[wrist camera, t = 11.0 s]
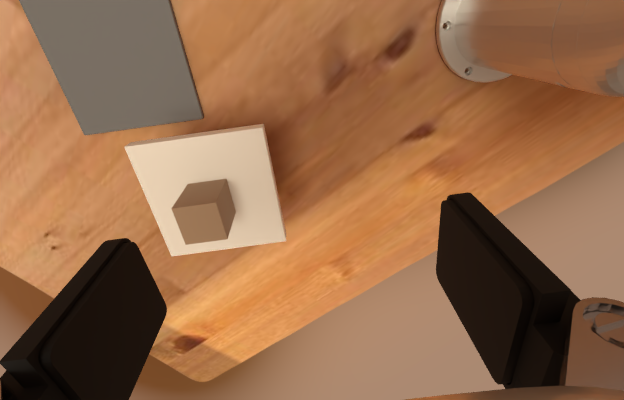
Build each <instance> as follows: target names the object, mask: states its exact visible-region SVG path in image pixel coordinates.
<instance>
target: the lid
mask: <svg viewBox="0 0 624 400" xmlns="http://www.w3.org/2000/svg"><path fill="white" fill-rule="evenodd" d="M125 150H126V152H127V154H128V157H129V159H130V161H131V163H132V166H133V168H134V170H135V173H136V175H137V177H138V180H139V182H140V184H141V187H142V189H143V191H144V194H145V196H146V198H147V200H148V203H149V205H150V207H151V210H152V212H153V214H154V217H155V219H156V221H157V224H158V226H159V228H160V231H161V233H162V235H163V237H164V240H165V242H166V244H167V247H168V249H169V251H170V254H171V256H178V255H186V254H193V253H201V252H208V251H216V250H223V249H231V248H238V247H246V246H253V245H261V244H268V243H276V242H283V241H286V230H285V225H284V221H283V216H282V211H281V206H280V201H279V196H278V191H277V186H276V181H275V176H274V172H273V167H272V162H271V157H270V152H269V147H268V142H267V137H266V132H265V127H264V124H258V125H250V126H243V127H236V128H229V129H222V130H215V131H208V132H201V133H194V134H187V135H180V136H172V137H165V138H158V139H151V140H144V141H137V142H130V143H129V144H128V145H126V146H125Z"/></svg>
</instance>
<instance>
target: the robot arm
mask: <svg viewBox="0 0 624 400" xmlns="http://www.w3.org/2000/svg"><path fill="white" fill-rule="evenodd" d="M444 23H445V24H446V26H445V28H444V29H443V24H444ZM436 39H437V45H438V49H439V53H440V55H441V57H442V59H443V61H444V63H445V64H446V65H447V66H448V67H449V69H450V70H451V71H453V72H454V73H455V74H457V75H458V76H460V77H462V78H465V79H467V80H470V81H474V82H484V83H487V82H494V81H498V80H501V79H504V78H507V77H509V76H511V75H517V76H521V77H525V78H529V79H533V80H537V81H542V82H546V83H550V84H554V85H558V86H563V87H567V88H571V89H576V90H580V91H584V92H589V93H593V94H597V95H604V96H611V97H624V0H442V2H441V4H440V8H439V12H438V16H437V23H436ZM466 68H467V71H466V72H465V69H466ZM436 274H437V278H438V280H439V282H440V284H441V286H442V288H443V290H444V291H445V293H446V295H447V297H448V299H449V300H450V302H451V304H452V306H453V307H454V309H455V311H456V313H457V315H458V317H459V318H460V320H461V322H462V324H463V325H464V327H465V329H466V331H467V333H468V334H469V336H470V338H471V340H472V342H473V343H474V345H475V347H476V349H477V351H478V352H479V354H480V356H481V358H482V360H483V361H484V363H485V365H486V367H487V368H488V370H489V372H490V374H491V376H492V378H493V379H494V380H495V382H496V383H497V384H503V385H504V387H505V389H502V390H492V391H481V392H471V393H460V394H450V395H441V396H432V397H423V398H414V399H406V400H624V303H623V302H620V301H617V300H612V299H607V298H593V297H592V298H587V299H583V300H580V299H579V298H578V297H577V296H576V295H574V293H573V292H572V291H571V290H570V289H569V288H568V287H567V286H566V285H565V284H564V283H563V282H562V281H561V280H560V279H559V278H558V277H557V276H556V275H555V274H554V273H553V272H552V271H551V270H550V269H549V268H548V267H547V266H545V264H543V263H542V262H541V261H540V260H539V259H538V258H537V257H536V256H535V255H534V254H533V253H532V252H531V251H530V250H529V249H528V248H527V247H526V246H525V245H524V244H523V243H522V242H521V241H520V240H519V239H517V237H515V236H514V234H512V233H511V232H510V231H509V230H508V229H507V228H506V227H505V226H504V225H503V224H502V223H501V222H500V221H499V220H498V219H497V218H496V217H495V216H494V215H493V214H492V213H491V212H490V211H489V210H488V209H487V208H486V207H485V206H484V205H483V204H482V203H480V202H479V201H478V200H477V199H476V198H475V197H474V196H473V195H472V194H471V193H461V194H454V195H449V196H448V198H447V200H445V201H442V204H441V214H440V227H439V239H438V252H437V264H436ZM166 312H167V308H166V304H165V301H164V299H163V297H162V295H161V293H160V291H159V289H158V287H157V285H156V283H155V281H154V279H153V277H152V275H151V273H150V271H149V269H148V267H147V265H146V262H145V260H144V258H143V256H142V254H141V252H140V250H139V248H138V246H137V245H136V243H134V242H131V241H130V240H129V239H127V238H123V239H115V240H108V241H105V242H104V243H103V244H102V245H101V246H100V247H99V248H98V249H97V250H96V252H95V253H94V254H93V255H92V256H91V257H90V258H89V260H88V261H87V262H86V263H85V264H84V265H83V267H82V268H81V269H80V270H79V271H78V272H77V273H76V275H75V276H74V277H73V278H72V279H71V280H70V281H69V283H68V284H67V285H66V286H65V287H64V288H63V289H62V291H61V292H60V293H59V294H58V295H57V296H56V297H55V299H54V300H53V301H52V302H51V303H50V304H49V306H48V307H47V308H46V309H45V310H44V311H43V312H42V314H41V315H40V316H39V317H38V318H37V319H36V320H35V322H34V323H33V324H32V325H31V326H30V327H29V329H28V330H27V331H26V332H25V333H24V334H23V335H22V336H21V338H20V339H19V340H18V341H17V342H16V343H15V344H14V346H13V347H12V348H11V349H10V350H9V351H8V352H7V354H6V355H5V356H4V357H3V358H2V359H1V361H0V364H1V365H2V366H3V367H4V368H5V369H6V370H7V371H6V372H5V373H4V374H3V376H2V377H1V378H0V400H129V397H130V396H131V393H132V391H133V389H134V386H135V384H136V382H137V380H138V377H139V375H140V373H141V371H142V368H143V366H144V364H145V362H146V359H147V357H148V355H149V353H150V350H151V348H152V346H153V344H154V341H155V339H156V337H157V334H158V332H159V330H160V328H161V325H162V323H163V321H164V319H165V316H166Z"/></svg>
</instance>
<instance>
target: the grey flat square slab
mask: <svg viewBox="0 0 624 400" xmlns="http://www.w3.org/2000/svg"><path fill="white" fill-rule="evenodd" d="M19 1H20V3H21V5H22V7H23V10H24V12H25V14H26V16H27V18H28V20H29V22H30V24H31V26H32V28H33V30H34V32H35V34H36V36H37V38H38V40H39V42H40V45H41V47H42V49H43V51H44V53H45V55H46V57H47V59H48V61H49V63H50V65H51V67H52V69H53V71H54V73H55V75H56V78H57V80H58V82H59V84H60V86H61V88H62V90H63V92H64V94H65V96H66V98H67V100H68V102H69V104H70V106H71V108H72V110H73V113H74V115H75V117H76V119H77V121H78V123H79V125H80V127H81V129H82V131H83V133H84V135H90V134H98V133H105V132H112V131H119V130H126V129H133V128H140V127H148V126H155V125H162V124H169V123H176V122H183V121H190V120H198V119H203V118H204V115H203V111H202V108H201V105H200V101H199V98H198V94H197V91H196V87H195V84H194V80H193V77H192V74H191V70H190V67H189V63H188V60H187V56H186V53H185V49H184V46H183V43H182V39H181V36H180V32H179V29H178V25H177V22H176V19H175V15H174V12H173V8H172V5H171V1H170V0H19Z"/></svg>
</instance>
